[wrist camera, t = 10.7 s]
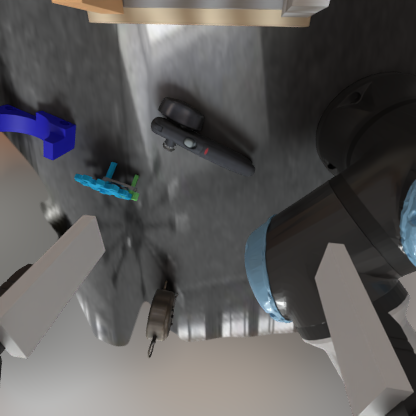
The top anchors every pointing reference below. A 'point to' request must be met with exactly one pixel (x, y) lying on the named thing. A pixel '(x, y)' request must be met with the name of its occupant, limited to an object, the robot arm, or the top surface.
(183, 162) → the top surface
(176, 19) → the plate
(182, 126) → the can opener
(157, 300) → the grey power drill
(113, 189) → the gear
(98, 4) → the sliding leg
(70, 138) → the cable clip
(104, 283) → the top surface
